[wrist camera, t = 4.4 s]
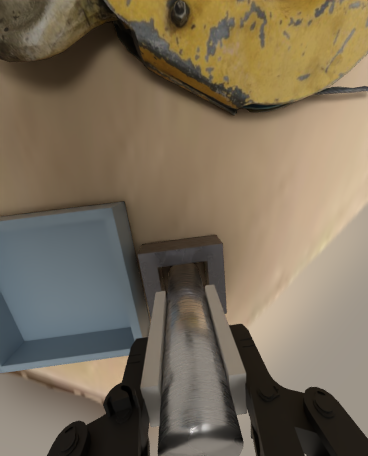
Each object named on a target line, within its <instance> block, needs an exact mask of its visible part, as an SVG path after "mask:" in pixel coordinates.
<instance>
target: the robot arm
mask: <svg viewBox="0 0 368 456" xmlns="http://www.w3.org/2000/svg"><path fill="white" fill-rule="evenodd" d="M205 296H206V300H207V304H208V307H209V311H210V315H211V319H212V323H213V327H214V331H215V335H216V338H217V342H218V346H219V350H220V354H221V358H222V362H223V366H224V369H225V373H226V377H227V381H228V385H229V389H230V392H231V396H232V399H233V403H234V407H235V411H236V415H239V414H246V413H247V410H248V413H249V416H250V420H251V438H252V439H253V442H254V447H255V452H256V456H305V455H304V453H305V454H306V455H307V456H368V438H367V437H366V436H365V435H364V433H363V432H362V431H361V430H360V428H359V427H358V426H357V425H356V423H355V422H354V421H353V420H352V418H351V417H350V416H349V415H348V414H347V412H346V411H345V410H344V408H343V407H342V406H341V405H340V403H339V402H338V401H337V400H336V399H335V398H334V397H333V396H332V395H331V394H329V393H328V392H326V391H325V390H323V389H320V388H317V387H310V388H308V389H306V390H305V393H302V392H298V391H293V390H289V389H286V388H284V387H282V386H280V385H279V384H278V383H277V382H275V381H274V380H273V379H272V377H271V376H270V374H269V372H268V371H267V368H266V366H265V364H264V362H263V360H262V358H261V356H260V354H259V352H258V349H257V347H256V346H255V343H254V341H253V340H252V337H251V335H250V333H249V331H248V329H247V328H246V327H245V326H244V325H243V324H236V325H228V322H227V319H226V316H225V314H224V311H223V308H222V305H221V302H220V300H219V297H218V294H217V291H216V289H215V286H214V285H206V286H205ZM166 309H167V298H166V292H165V291H161V292H156V294H155V300H154V306H153V312H152V318H151V325H150V331H149V337H144V338H137V339H136V340H135V341H134V343H133V344H132V346H131V349H130V353H129V357H128V360H127V365H126V368H125V372H124V376H123V380H122V383H120V384H118V385H116V386H115V387H114V388H112V389H111V390H110V392H109V393H108V395H107V396H106V398H105V401H104V404H103V406H104V409H105V411H106V414H105V415H103V416H102V417H100V418H98V419H97V420H95V421H93V422H91V423H89V424H87V425H85V423H84V422H82V421H76V422H73V423H71V424H70V425H68V426H67V427H65V428H64V429H63V431H62V432H61V433H60V434H59V435H58V437H57V438H56V440H55V441H54V443H53V445H52V447H51V449H50V451H49V453H48V455H47V456H150V445H149V438H148V429H149V422H150V426H151V427H156V426H159V423H160V406H161V390H162V374H163V358H164V341H165V325H166Z"/></svg>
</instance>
